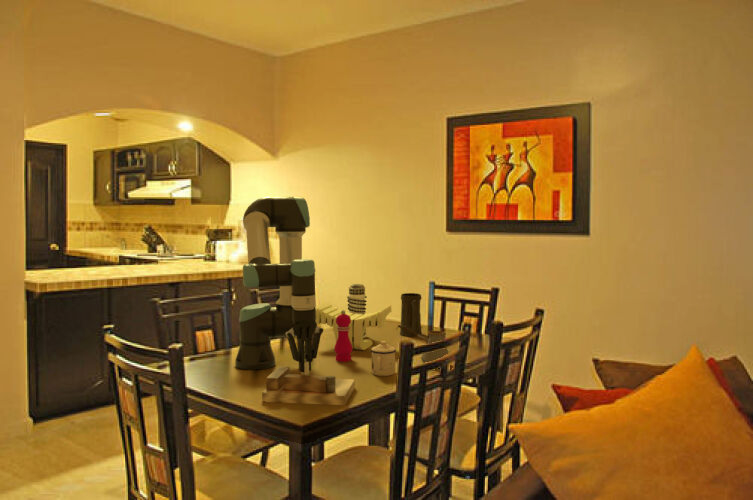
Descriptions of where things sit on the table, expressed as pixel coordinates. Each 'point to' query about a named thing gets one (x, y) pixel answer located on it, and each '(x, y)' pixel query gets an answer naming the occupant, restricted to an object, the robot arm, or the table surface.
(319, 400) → the wooden board with block
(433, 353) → the coffee pot
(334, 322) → the slatted curved stool
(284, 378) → the hinged leg
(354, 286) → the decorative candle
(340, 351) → the pepper mill
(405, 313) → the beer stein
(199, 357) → the table surface
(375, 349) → the teacup with lid
